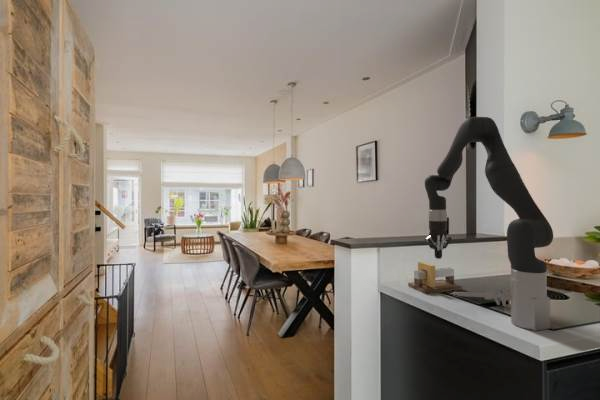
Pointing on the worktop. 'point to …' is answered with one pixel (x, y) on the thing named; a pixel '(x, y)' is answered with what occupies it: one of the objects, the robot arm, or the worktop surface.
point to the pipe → (438, 273)
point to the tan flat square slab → (428, 273)
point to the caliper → (487, 296)
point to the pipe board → (439, 285)
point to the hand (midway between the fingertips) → (438, 258)
